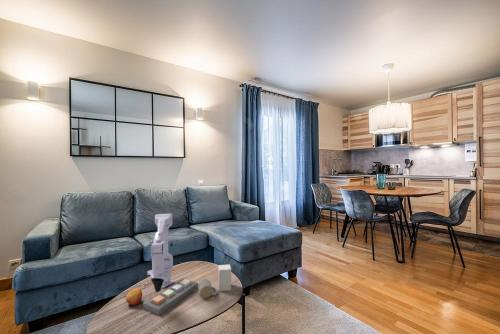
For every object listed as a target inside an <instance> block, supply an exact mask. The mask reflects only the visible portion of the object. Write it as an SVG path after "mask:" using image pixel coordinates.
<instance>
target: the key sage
mask: <svg viewBox="0 0 500 334" xmlns="http://www.w3.org/2000/svg"><path fill="white" fill-rule="evenodd" d="M173 295H174V291H172V290H169V289H168V290H166V291H165V292H163V293H162V296H163V297H165V298H167V299H169V298H170V297H172V296H173Z"/></svg>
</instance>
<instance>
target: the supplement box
mask: <svg viewBox="0 0 500 334" xmlns="http://www.w3.org/2000/svg"><path fill="white" fill-rule="evenodd" d="M217 280H218V283H217V284H218V291H219V292H228V291H231V290H232V267H231V264H230V263H229V264H228V263H227V264H219V265H218V279H217Z"/></svg>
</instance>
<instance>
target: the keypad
mask: <svg viewBox="0 0 500 334" xmlns="http://www.w3.org/2000/svg"><path fill="white" fill-rule="evenodd" d="M184 279H185V278H183V277H182V279H180V280H178V281H176V282H175V283H172V284H171V285H169V287H168V286H167V288H164V289H163V290H161V291H159V292H157V294H155V295H154V296H151V297H150V298H149V299H146V300H145V301H144V302H142V309H143V310H145V311H147V312H149V313H152V314H154V315H156V316H161V315H162V314H163V313H165V312H167V311H168V310H170V309H171V308H172V307H173V306H175V305H176V304H177V303H179V302H180V301H182V300H183V299H185V298H186V297H188V296H189V295H190V294H192V293H193V292H194V291H196V290H198V284H199V282H196V281H193V280H190V281H191V284H190V285H188V286H187V287H183V289H182V290H181V291H179V292H178V293H176V292H174V295H173V296H172V297H170V298H169V299H167V298H165V301H164V302H162V303H161V304H159V305H155V304H153V303H152V299H153V298H155V297H156V296H158V295H160V296H162V293H163V292H165V291H166V290H168V289H169V290H171V287H173V286H175V285H176V284H179V285H180V282H181V281H183V280H184Z"/></svg>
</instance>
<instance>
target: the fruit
mask: <svg viewBox="0 0 500 334" xmlns="http://www.w3.org/2000/svg"><path fill="white" fill-rule="evenodd" d="M125 299H126V300H125V301H126V303H127V304H128V305H133V306H136V305H138V304H140V303H141V301H142V299H143V291H142V289H141V288H138V287H137V288H132V289H131V290H130V291H128V293H127V294H126V295H125Z"/></svg>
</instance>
